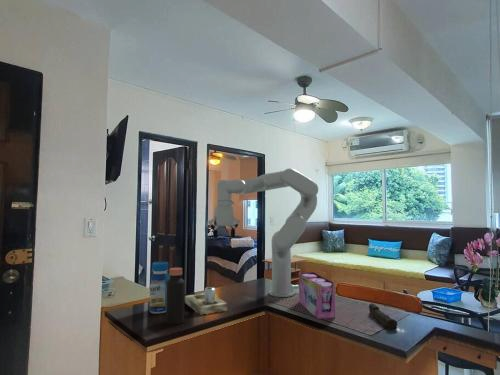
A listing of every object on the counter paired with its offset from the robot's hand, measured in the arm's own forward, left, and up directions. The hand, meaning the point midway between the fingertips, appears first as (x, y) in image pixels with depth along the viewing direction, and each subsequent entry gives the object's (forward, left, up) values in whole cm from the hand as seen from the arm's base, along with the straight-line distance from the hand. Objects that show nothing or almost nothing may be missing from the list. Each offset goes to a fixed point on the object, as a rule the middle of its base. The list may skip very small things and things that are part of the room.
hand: (224, 237), depth 163 cm
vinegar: (+33, +27, -28) cm, 51 cm away
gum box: (-24, +42, -29) cm, 56 cm away
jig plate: (+16, +15, -28) cm, 36 cm away
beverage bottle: (+35, +11, -28) cm, 46 cm away
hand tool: (-35, +65, -29) cm, 79 cm away
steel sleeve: (+16, +20, -28) cm, 38 cm away
